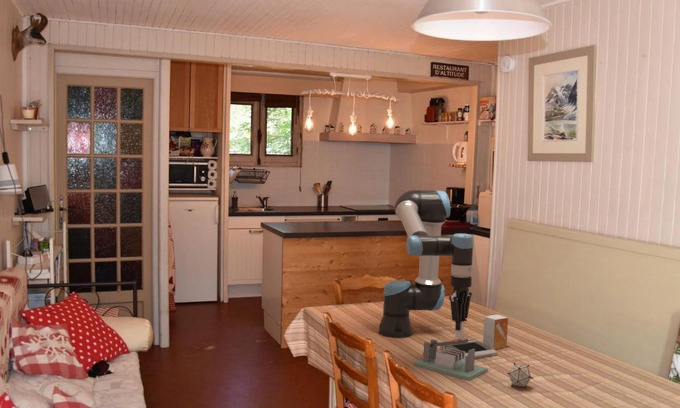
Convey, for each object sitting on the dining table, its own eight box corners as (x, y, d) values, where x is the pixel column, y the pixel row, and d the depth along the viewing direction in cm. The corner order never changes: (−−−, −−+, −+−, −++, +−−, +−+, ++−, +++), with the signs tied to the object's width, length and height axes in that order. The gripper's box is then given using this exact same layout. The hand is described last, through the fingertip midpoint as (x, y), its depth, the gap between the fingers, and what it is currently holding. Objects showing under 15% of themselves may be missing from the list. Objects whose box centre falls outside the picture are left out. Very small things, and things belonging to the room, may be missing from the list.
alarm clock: (472, 338, 283) (498, 345, 268) (472, 349, 283) (498, 357, 268) (439, 342, 275) (464, 350, 260) (439, 353, 275) (464, 362, 260)
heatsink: (434, 368, 250) (435, 351, 249) (447, 363, 257) (447, 346, 256) (453, 373, 245) (453, 356, 244) (465, 367, 252) (466, 351, 251)
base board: (413, 365, 253) (414, 342, 252) (432, 357, 264) (433, 335, 263) (469, 380, 238) (470, 355, 237) (487, 371, 248) (488, 347, 248)
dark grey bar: (427, 347, 255) (426, 343, 255) (431, 346, 257) (430, 341, 258) (464, 343, 245) (463, 339, 245) (468, 341, 247) (467, 337, 247)
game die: (513, 395, 234) (501, 368, 239) (535, 387, 235) (523, 360, 239) (516, 391, 226) (504, 363, 230) (540, 382, 227) (526, 355, 231)
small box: (493, 350, 276) (494, 319, 275) (482, 346, 281) (483, 316, 280) (507, 347, 280) (508, 317, 279) (495, 343, 285) (497, 314, 284)
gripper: (461, 279, 239) (459, 343, 240) (479, 274, 249) (476, 337, 250) (443, 276, 243) (441, 339, 245) (461, 272, 253) (459, 333, 255)
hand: (459, 338), depth 248 cm, fingers closed
